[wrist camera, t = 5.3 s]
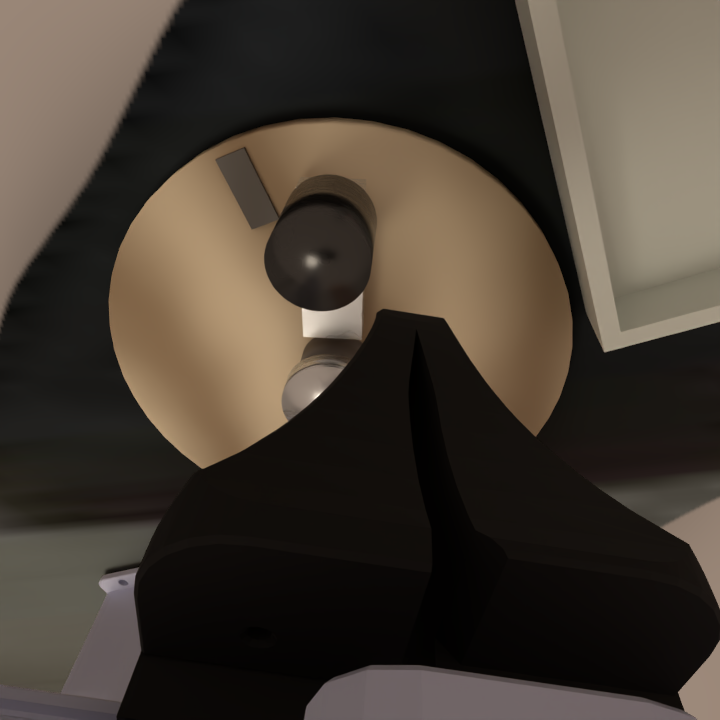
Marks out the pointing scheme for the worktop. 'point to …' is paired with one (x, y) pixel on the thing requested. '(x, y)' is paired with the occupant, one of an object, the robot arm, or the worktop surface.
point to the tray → (634, 155)
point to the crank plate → (284, 320)
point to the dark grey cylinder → (322, 272)
